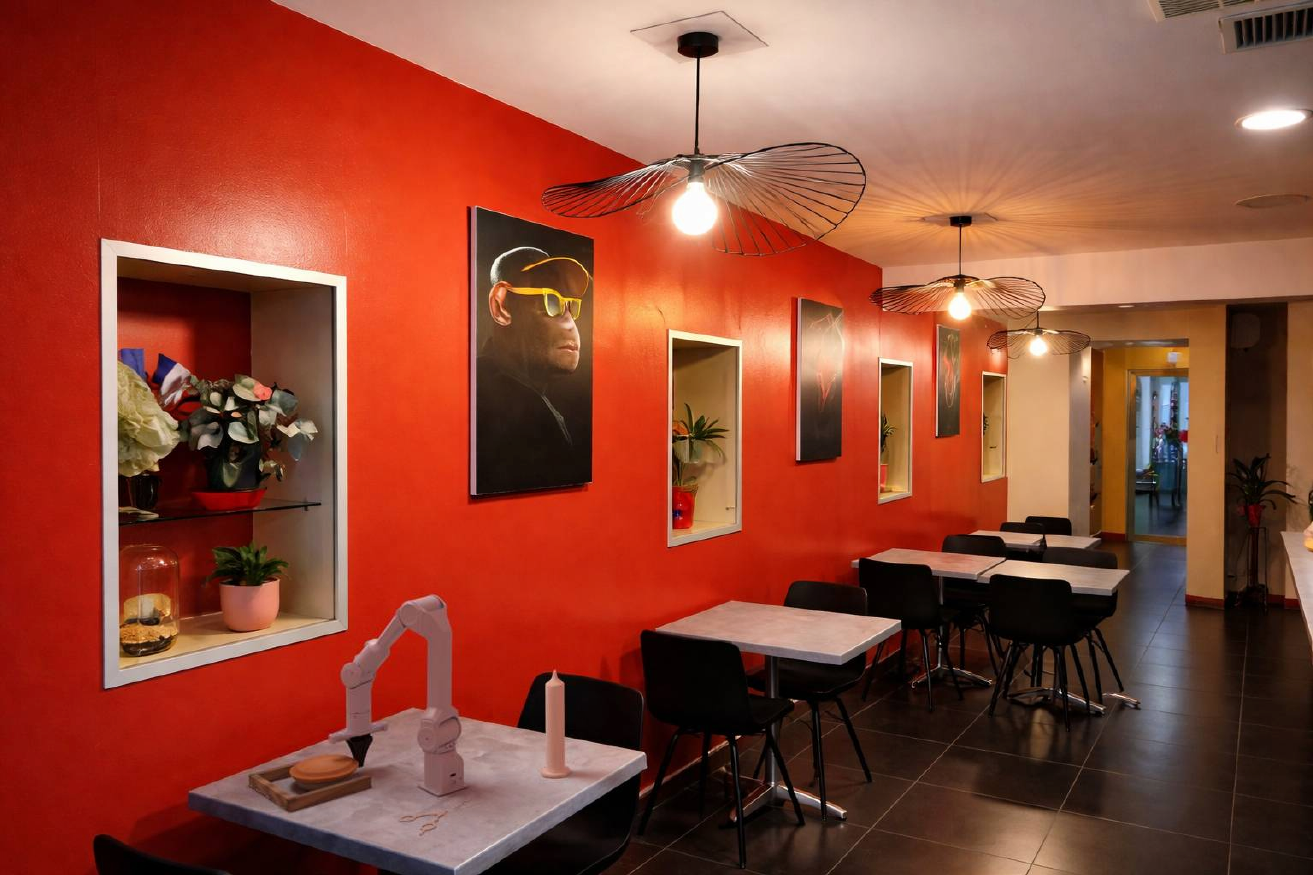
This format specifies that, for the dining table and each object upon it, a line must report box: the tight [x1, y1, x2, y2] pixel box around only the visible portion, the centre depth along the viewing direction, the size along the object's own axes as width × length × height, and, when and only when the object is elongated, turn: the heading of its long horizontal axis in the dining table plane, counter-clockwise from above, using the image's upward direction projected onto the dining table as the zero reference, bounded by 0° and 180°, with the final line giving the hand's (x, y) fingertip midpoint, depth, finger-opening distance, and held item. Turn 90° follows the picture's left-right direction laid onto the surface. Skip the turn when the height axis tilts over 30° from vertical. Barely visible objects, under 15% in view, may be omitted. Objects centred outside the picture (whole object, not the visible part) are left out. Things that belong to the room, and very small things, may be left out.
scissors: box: [397, 797, 472, 836], centre depth 204 cm, size 11×1×20 cm
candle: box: [540, 669, 571, 779], centre depth 227 cm, size 7×7×25 cm
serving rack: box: [248, 753, 372, 812], centre depth 219 cm, size 22×20×2 cm
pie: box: [289, 753, 359, 792], centre depth 222 cm, size 16×16×5 cm
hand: (359, 766), depth 228 cm, fingers closed
